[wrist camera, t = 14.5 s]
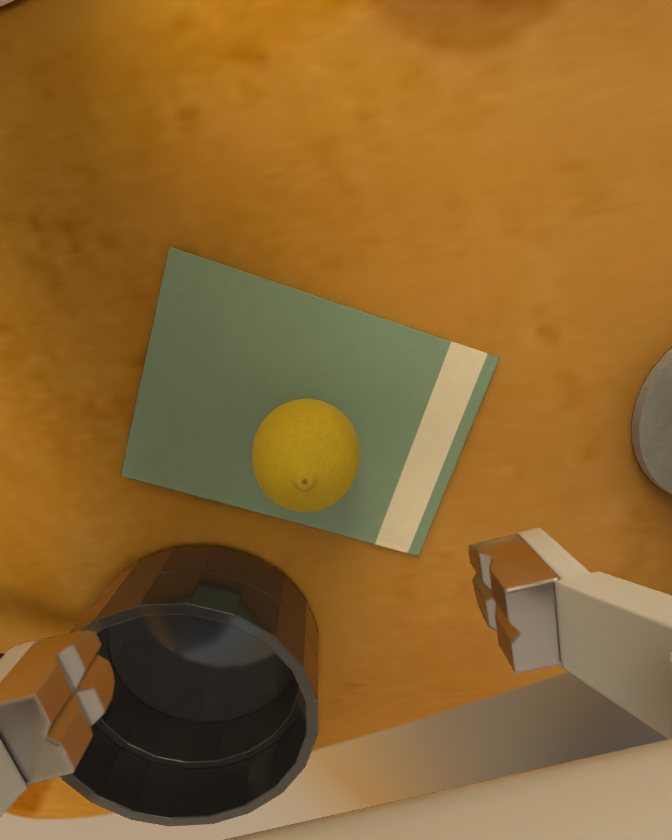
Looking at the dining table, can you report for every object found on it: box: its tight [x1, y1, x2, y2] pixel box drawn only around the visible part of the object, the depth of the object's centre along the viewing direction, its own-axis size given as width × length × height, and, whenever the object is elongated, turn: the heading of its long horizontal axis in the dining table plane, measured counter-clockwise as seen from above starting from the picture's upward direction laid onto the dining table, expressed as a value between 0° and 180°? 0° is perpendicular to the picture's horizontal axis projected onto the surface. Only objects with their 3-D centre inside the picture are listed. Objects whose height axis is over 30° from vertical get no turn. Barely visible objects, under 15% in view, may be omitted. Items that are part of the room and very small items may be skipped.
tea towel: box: [121, 247, 499, 556], centre depth 25 cm, size 20×14×1 cm
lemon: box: [252, 398, 360, 512], centre depth 21 cm, size 6×6×8 cm
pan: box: [60, 546, 318, 826], centre depth 26 cm, size 16×16×6 cm
